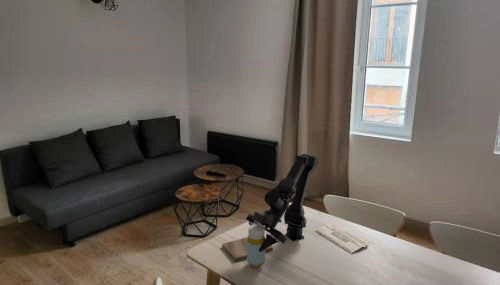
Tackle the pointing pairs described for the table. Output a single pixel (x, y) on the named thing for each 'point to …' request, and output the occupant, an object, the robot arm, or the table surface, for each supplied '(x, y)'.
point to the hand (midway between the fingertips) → (253, 247)
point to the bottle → (255, 245)
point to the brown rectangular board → (239, 249)
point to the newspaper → (341, 238)
